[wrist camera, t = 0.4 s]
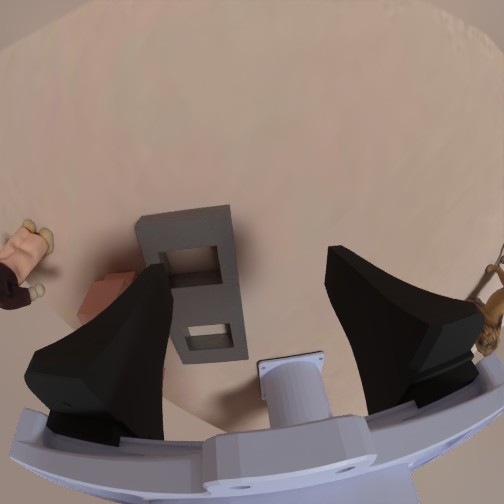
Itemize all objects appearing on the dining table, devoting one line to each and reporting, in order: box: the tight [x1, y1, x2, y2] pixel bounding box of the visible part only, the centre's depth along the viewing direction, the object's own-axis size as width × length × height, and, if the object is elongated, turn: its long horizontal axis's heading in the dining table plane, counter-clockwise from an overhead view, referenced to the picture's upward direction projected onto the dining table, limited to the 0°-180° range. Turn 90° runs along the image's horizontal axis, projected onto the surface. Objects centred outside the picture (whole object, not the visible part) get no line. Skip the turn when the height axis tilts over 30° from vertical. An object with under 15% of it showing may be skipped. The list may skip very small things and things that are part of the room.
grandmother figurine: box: [0, 219, 54, 310], centre depth 15 cm, size 8×4×13 cm, turn 68°
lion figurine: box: [465, 256, 504, 357], centre depth 26 cm, size 15×5×9 cm, turn 167°
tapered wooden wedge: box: [77, 271, 165, 387], centre depth 23 cm, size 12×3×6 cm, turn 4°
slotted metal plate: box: [135, 205, 249, 364], centre depth 24 cm, size 16×7×2 cm, turn 4°
